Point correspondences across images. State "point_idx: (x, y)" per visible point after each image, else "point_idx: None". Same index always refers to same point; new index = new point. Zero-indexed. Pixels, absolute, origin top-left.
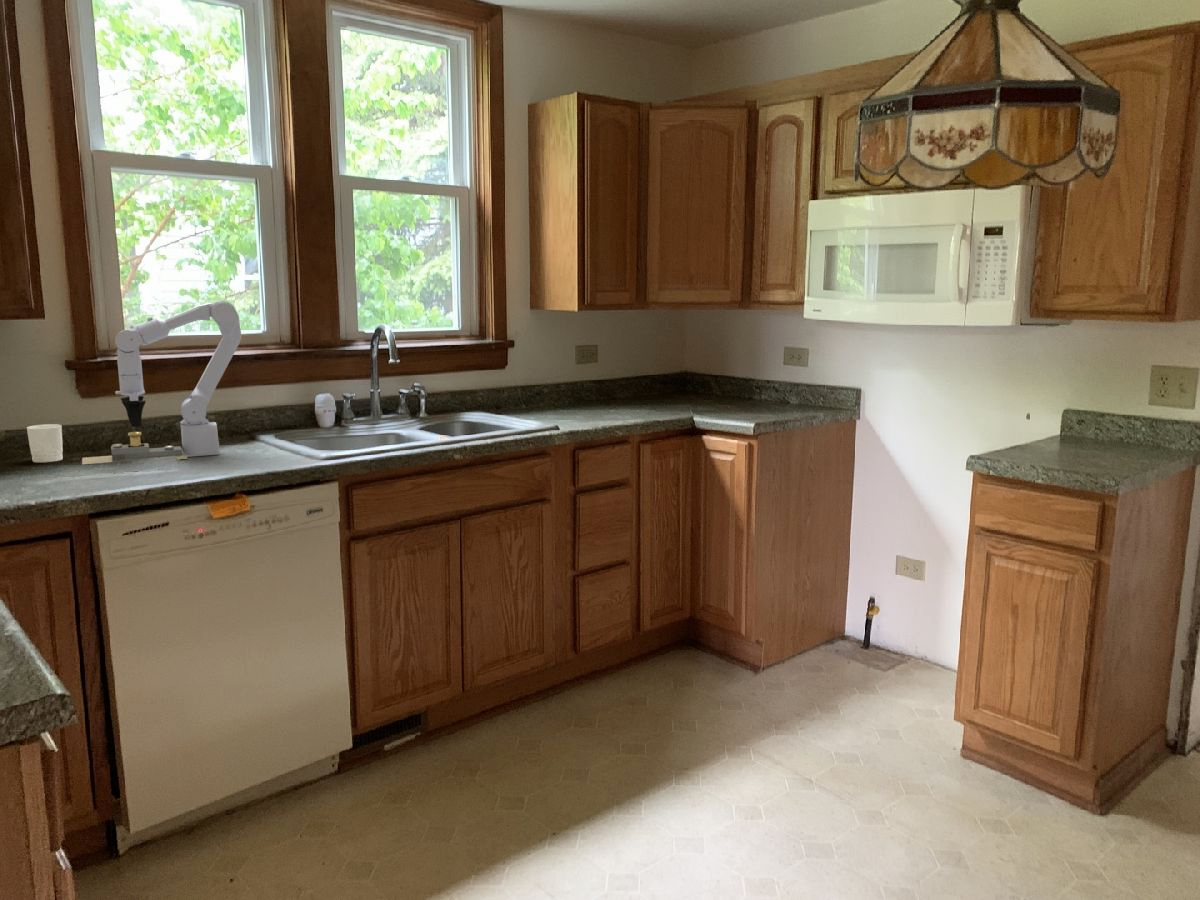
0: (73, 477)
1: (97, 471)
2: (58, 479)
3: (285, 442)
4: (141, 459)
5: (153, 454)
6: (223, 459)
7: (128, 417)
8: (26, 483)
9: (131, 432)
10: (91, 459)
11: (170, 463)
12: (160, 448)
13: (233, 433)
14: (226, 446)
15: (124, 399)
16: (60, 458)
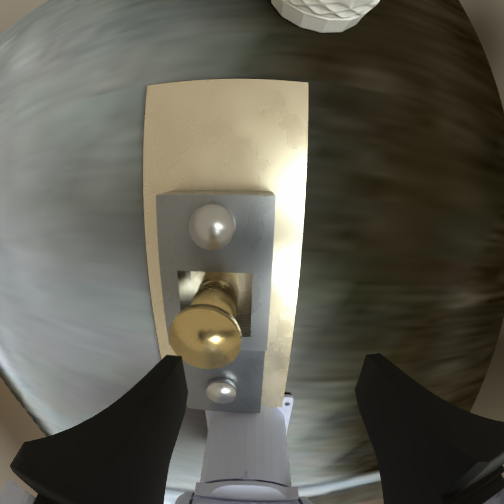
0: (34, 101)
1: (74, 148)
2: (33, 72)
3: (298, 495)
4: (152, 291)
5: None
6: None
7: (383, 373)
8: (38, 24)
9: (218, 329)
10: (243, 111)
11: (127, 351)
12: (243, 369)
13: None
14: (325, 454)
15: (455, 479)
16: (298, 16)
